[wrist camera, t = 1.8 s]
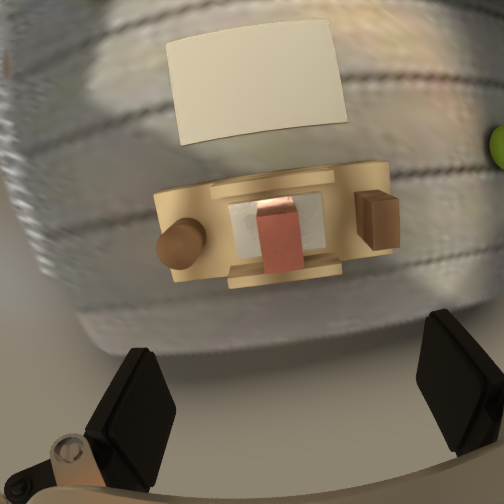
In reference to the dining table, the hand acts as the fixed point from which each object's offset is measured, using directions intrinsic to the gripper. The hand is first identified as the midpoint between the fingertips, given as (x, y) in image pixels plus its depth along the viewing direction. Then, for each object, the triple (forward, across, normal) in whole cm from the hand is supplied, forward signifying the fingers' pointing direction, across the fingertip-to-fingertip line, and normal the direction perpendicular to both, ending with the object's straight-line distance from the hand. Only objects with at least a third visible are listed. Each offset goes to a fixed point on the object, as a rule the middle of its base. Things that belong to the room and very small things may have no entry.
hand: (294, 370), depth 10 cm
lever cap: (+20, 0, 0) cm, 20 cm away
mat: (+22, 0, -14) cm, 27 cm away
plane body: (+23, 0, 0) cm, 23 cm away
